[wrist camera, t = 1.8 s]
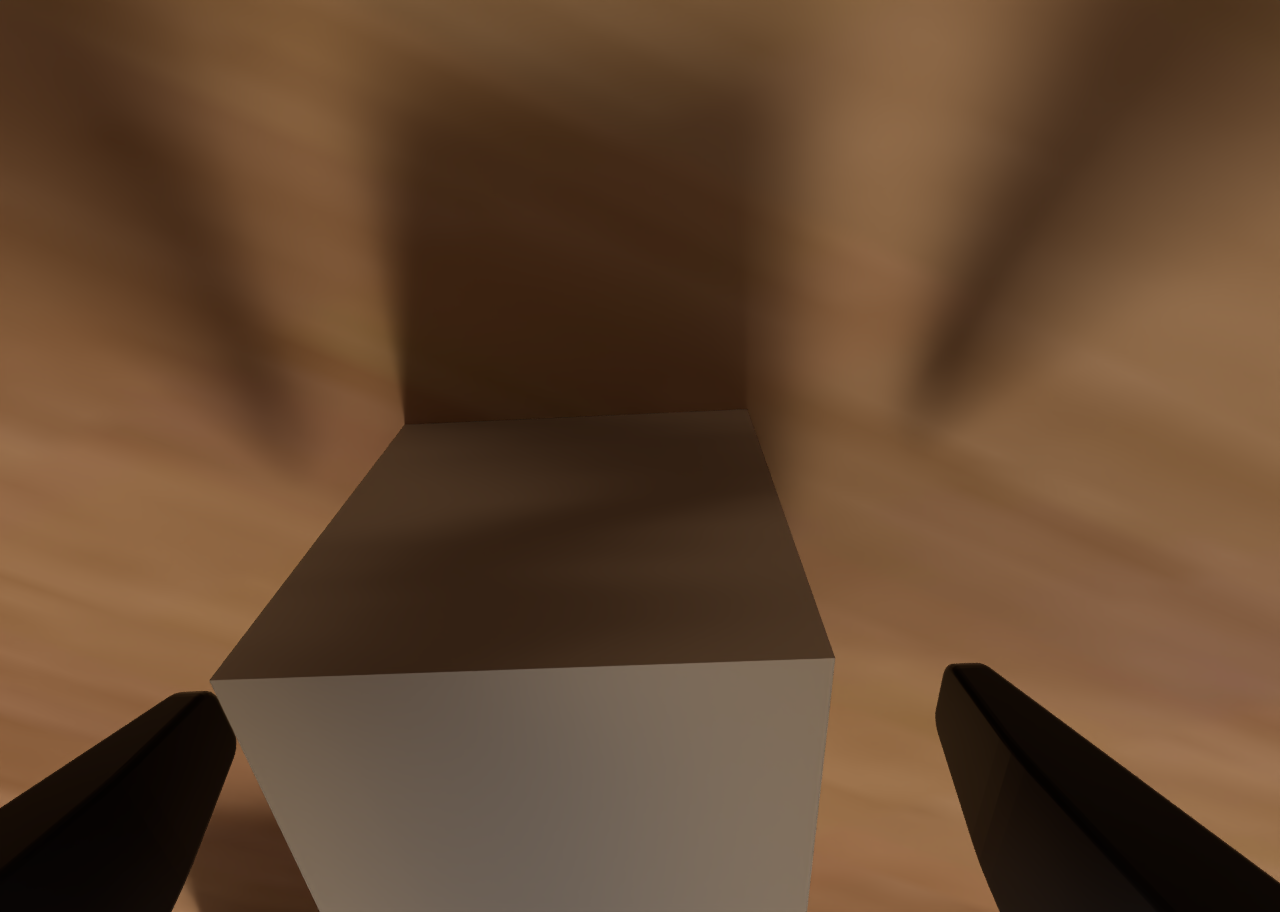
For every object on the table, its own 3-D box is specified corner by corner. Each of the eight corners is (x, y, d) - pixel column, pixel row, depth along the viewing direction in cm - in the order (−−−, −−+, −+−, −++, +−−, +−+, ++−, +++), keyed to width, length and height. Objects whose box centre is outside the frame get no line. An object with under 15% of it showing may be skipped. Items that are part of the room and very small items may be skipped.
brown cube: (745, 407, 10) (835, 657, 5) (740, 663, 12) (798, 988, 7) (406, 422, 10) (209, 679, 5) (464, 672, 12) (361, 999, 8)
